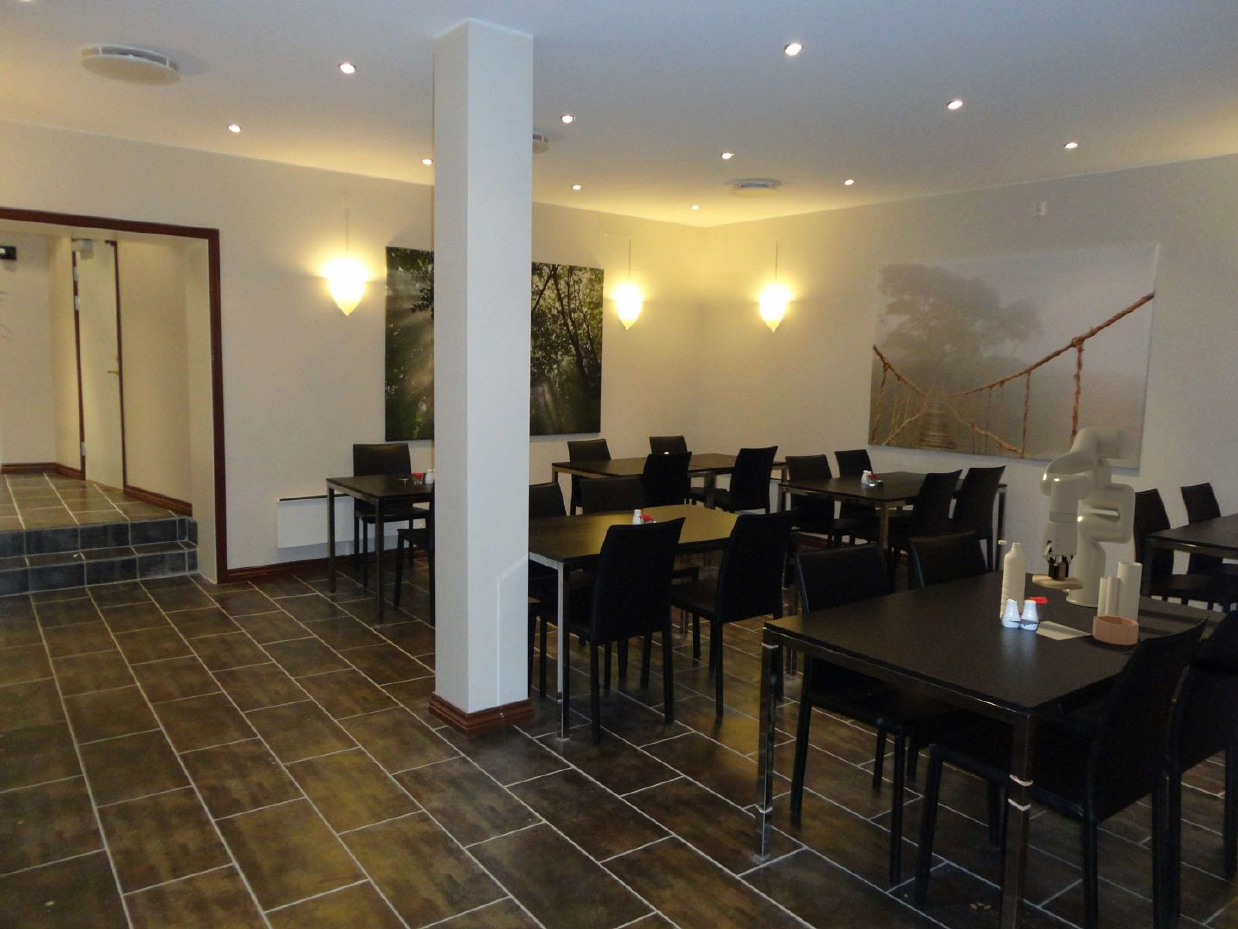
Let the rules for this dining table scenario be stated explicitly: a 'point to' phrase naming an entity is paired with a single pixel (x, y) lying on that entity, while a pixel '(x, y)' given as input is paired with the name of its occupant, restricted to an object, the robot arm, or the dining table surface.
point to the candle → (1121, 591)
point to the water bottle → (1013, 576)
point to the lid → (1058, 580)
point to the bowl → (1115, 629)
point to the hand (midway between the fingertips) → (1058, 576)
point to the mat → (1058, 631)
